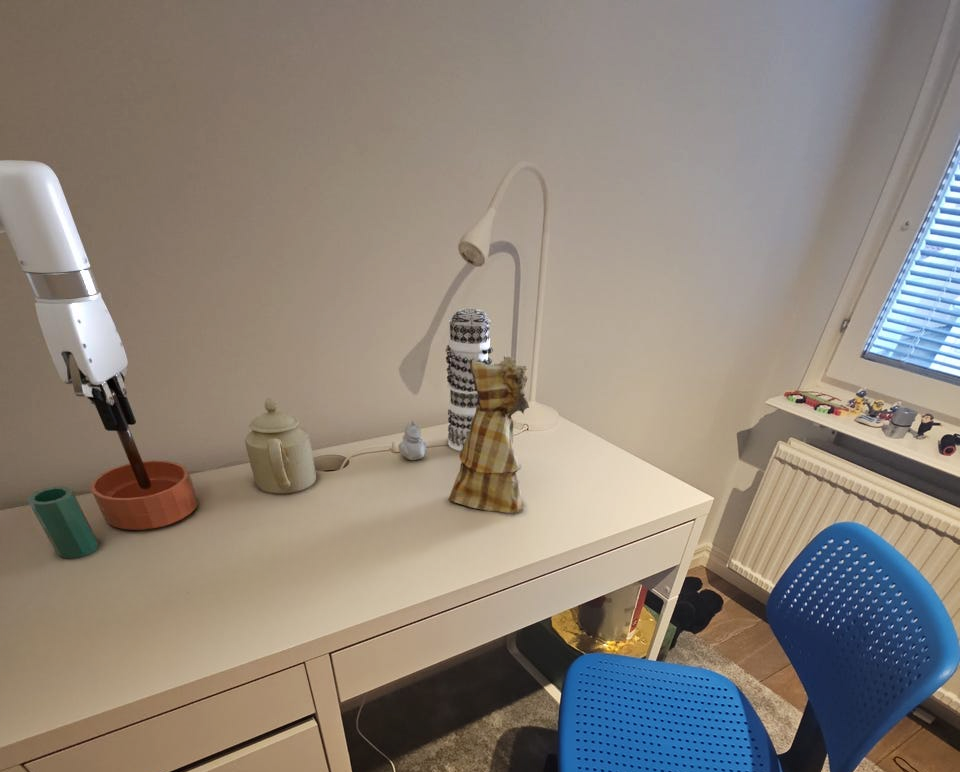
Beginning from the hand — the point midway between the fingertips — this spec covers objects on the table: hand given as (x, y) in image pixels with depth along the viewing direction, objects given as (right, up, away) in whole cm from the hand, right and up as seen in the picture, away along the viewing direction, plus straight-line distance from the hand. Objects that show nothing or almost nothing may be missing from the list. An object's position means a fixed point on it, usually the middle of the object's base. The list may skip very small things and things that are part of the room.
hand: (121, 426), depth 85 cm
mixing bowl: (-1, -11, +10) cm, 15 cm away
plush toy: (+56, -6, +17) cm, 59 cm away
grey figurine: (+41, +5, +29) cm, 50 cm away
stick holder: (-7, -19, +1) cm, 20 cm away
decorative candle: (+52, +10, +35) cm, 64 cm away
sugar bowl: (+20, -4, +19) cm, 27 cm away
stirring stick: (0, -8, +7) cm, 10 cm away
